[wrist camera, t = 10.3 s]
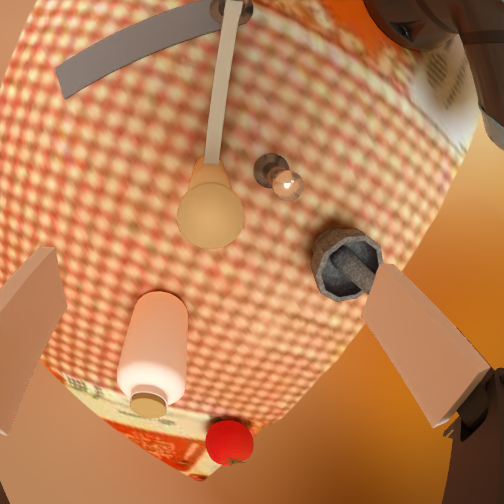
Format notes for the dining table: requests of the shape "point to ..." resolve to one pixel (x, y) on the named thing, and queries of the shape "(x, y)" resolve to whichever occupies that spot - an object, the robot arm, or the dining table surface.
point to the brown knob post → (219, 6)
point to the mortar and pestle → (345, 263)
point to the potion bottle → (155, 354)
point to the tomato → (229, 442)
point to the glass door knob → (278, 177)
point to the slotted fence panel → (214, 160)
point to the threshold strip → (135, 44)
